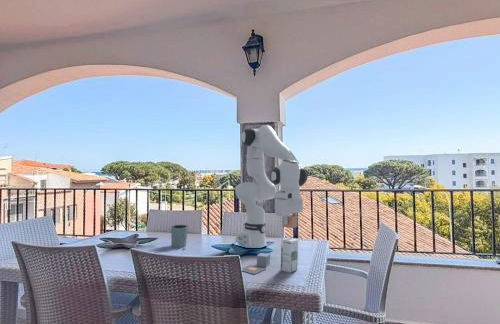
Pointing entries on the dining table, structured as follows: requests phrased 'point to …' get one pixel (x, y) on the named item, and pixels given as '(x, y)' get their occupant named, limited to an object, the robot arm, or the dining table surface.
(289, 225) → the terracotta block
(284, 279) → the dining table surface
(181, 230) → the green cup
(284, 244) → the syrup box
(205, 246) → the dining table surface
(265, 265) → the grey block
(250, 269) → the board
